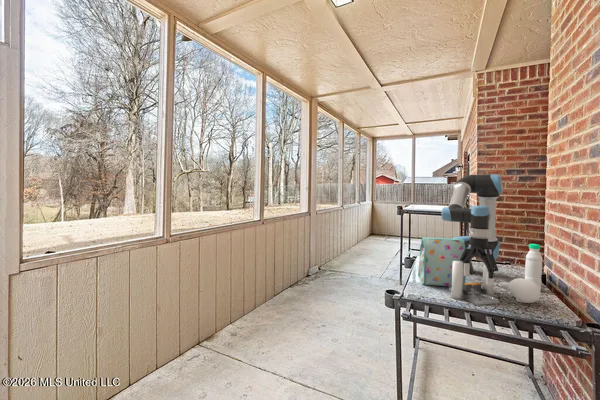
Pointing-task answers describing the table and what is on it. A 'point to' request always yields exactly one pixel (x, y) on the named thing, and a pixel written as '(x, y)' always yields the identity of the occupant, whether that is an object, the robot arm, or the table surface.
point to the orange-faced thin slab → (476, 287)
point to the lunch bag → (439, 260)
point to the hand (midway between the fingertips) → (477, 280)
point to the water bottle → (534, 265)
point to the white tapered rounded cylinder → (457, 280)
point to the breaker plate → (478, 297)
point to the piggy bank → (523, 290)
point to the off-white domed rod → (486, 287)
